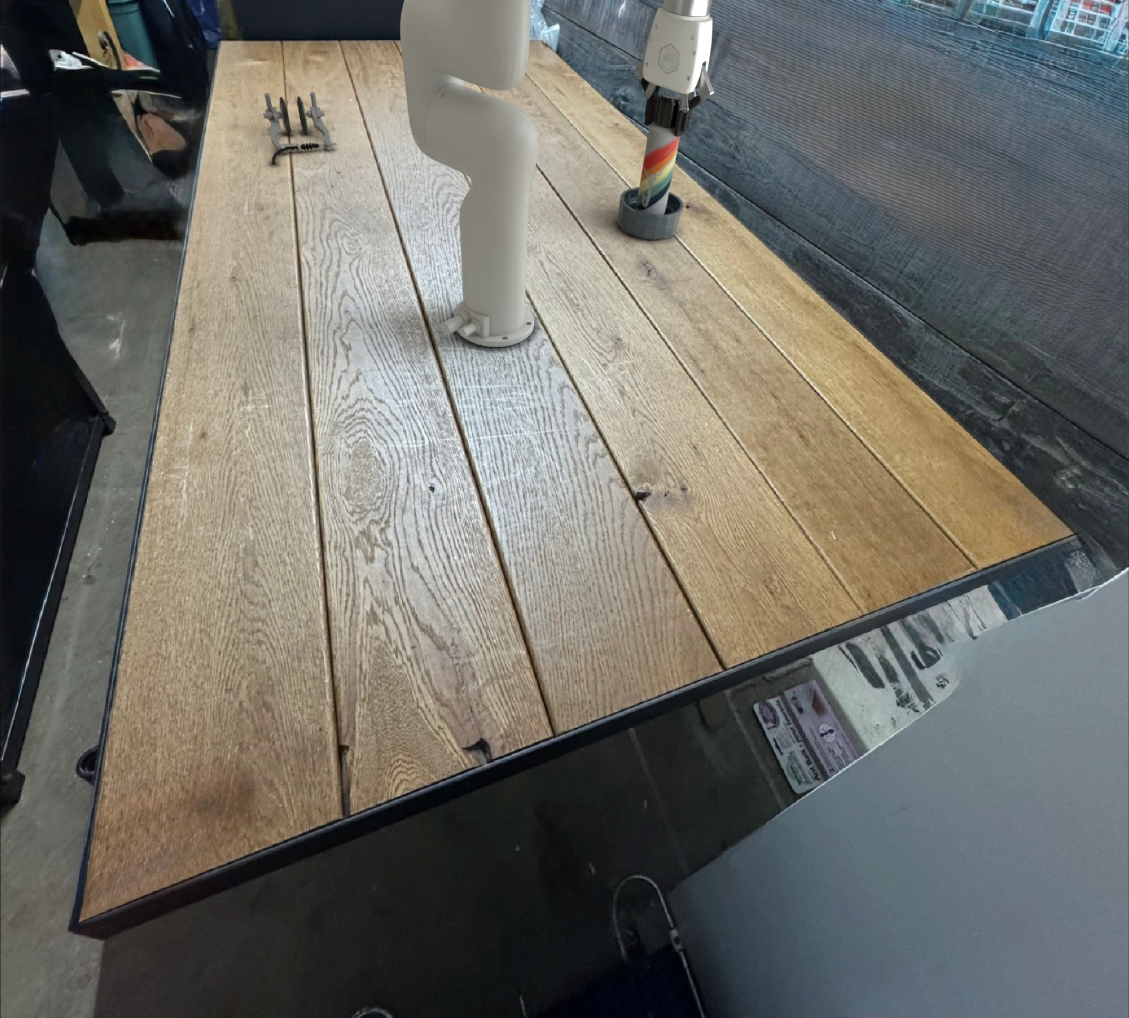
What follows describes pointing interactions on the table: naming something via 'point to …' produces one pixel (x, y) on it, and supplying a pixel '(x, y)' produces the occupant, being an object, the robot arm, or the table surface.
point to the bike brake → (275, 127)
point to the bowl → (649, 217)
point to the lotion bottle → (659, 158)
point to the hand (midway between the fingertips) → (665, 127)
